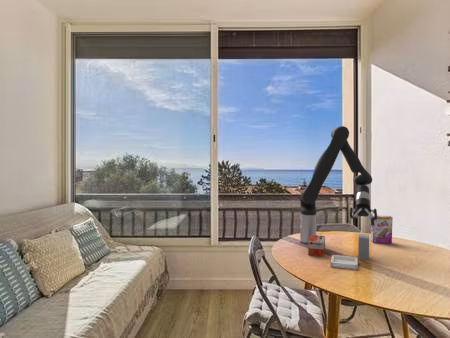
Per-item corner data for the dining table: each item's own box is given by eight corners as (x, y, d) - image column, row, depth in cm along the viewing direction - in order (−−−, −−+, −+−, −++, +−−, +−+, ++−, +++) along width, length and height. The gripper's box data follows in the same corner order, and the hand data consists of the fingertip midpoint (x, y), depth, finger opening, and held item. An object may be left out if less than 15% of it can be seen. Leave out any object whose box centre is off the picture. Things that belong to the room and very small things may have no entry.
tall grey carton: (358, 259, 169) (358, 236, 169) (358, 256, 175) (358, 233, 174) (368, 260, 167) (369, 236, 167) (368, 257, 173) (368, 234, 173)
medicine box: (323, 256, 174) (323, 241, 174) (308, 255, 177) (308, 240, 177) (325, 249, 188) (325, 235, 188) (310, 248, 191) (310, 234, 191)
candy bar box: (373, 243, 201) (373, 216, 200) (370, 241, 206) (370, 215, 205) (392, 243, 199) (392, 216, 199) (389, 241, 204) (389, 215, 204)
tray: (330, 266, 158) (330, 262, 158) (332, 259, 170) (332, 254, 170) (357, 269, 153) (357, 265, 153) (357, 261, 165) (357, 257, 165)
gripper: (349, 196, 191) (349, 219, 181) (376, 197, 186) (377, 221, 176) (349, 204, 196) (349, 227, 186) (376, 205, 191) (377, 229, 181)
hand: (363, 224), depth 181 cm, fingers open, 8 cm apart
